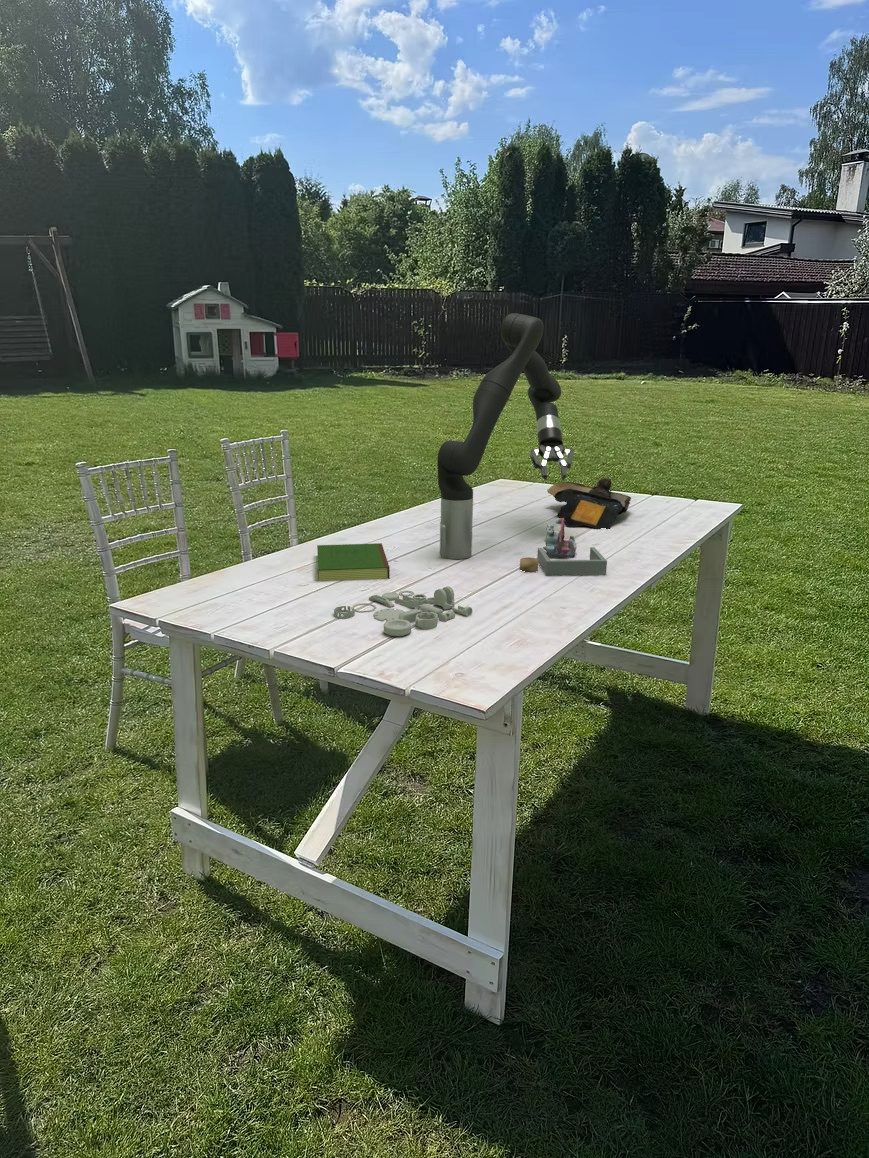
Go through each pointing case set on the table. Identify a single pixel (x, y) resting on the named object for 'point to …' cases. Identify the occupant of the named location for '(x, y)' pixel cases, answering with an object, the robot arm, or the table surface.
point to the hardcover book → (352, 562)
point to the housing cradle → (573, 565)
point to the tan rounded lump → (529, 564)
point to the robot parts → (401, 620)
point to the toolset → (589, 503)
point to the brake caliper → (559, 542)
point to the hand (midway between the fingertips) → (554, 478)
